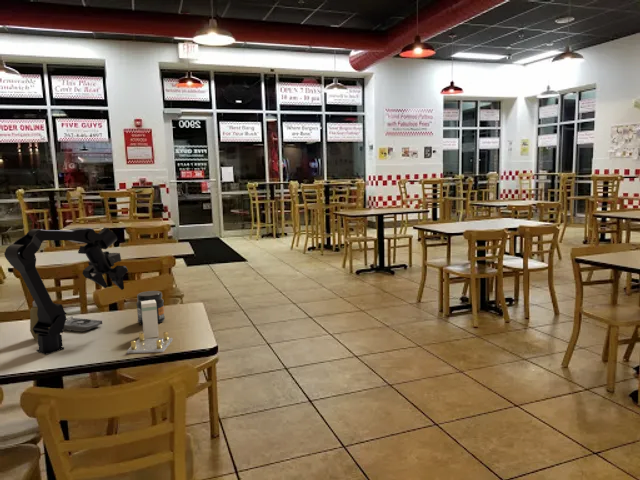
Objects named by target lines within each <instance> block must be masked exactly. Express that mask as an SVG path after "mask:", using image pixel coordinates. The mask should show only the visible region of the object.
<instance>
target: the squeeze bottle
mask: <svg viewBox="0 0 640 480" xmlns="http://www.w3.org/2000/svg"><path fill="white" fill-rule="evenodd" d="M37 311H38V307H37V305H36V303H35V301H34V300H33V301H32V307H31V308H30V312H29V313H30V314H29V315H30V316H29V317H30V318H29V319H30V321H29V324H30V325H29V332H30V335H32V337H33V339H34V340H35V341H38V337H37V335H39V334H35V333H34V331H33V327H34V326H35V324H36V323H37V321H38V320H39V319H38V316H37ZM48 328H50V327H48Z"/></svg>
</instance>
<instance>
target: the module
mask: <svg viewBox="0 0 640 480" xmlns="http://www.w3.org/2000/svg"><path fill="white" fill-rule="evenodd" d="M141 309H142V322H143V325H142V333H144V339H151V338H160V337H159V336H160V334H159V333H160V332H159V323H158V320H157V306H156V301H155V300H148V301H141Z"/></svg>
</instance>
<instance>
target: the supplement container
mask: <svg viewBox="0 0 640 480" xmlns="http://www.w3.org/2000/svg"><path fill="white" fill-rule="evenodd" d="M136 297H137V301H136V311H137V323H138V324H139V325H141V326H143V322H142V309H141V301H148V300H155V301H156V306H157V320H158V324H161V323H163V322H164V321H165V318H166V317H165V306H164V304H165V303H164V302H165V301H164V300H165V299H163V298H162V297H163V292H162V291H159V290H148V291H142V292H139V293H138V294H137V295H136Z"/></svg>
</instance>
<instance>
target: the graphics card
mask: <svg viewBox="0 0 640 480" xmlns="http://www.w3.org/2000/svg"><path fill="white" fill-rule="evenodd" d="M101 325H103V320H100V319H98V320H97V319H89V318H80V317H79V318H78V317H74V316H72V315H70V316H69V317H66V321H65V324H64V329H63V332H65V331H71V330H74V331H73V332H82V331H84V332H85V331H90V330H92V329H95V328H98V326H101Z"/></svg>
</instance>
